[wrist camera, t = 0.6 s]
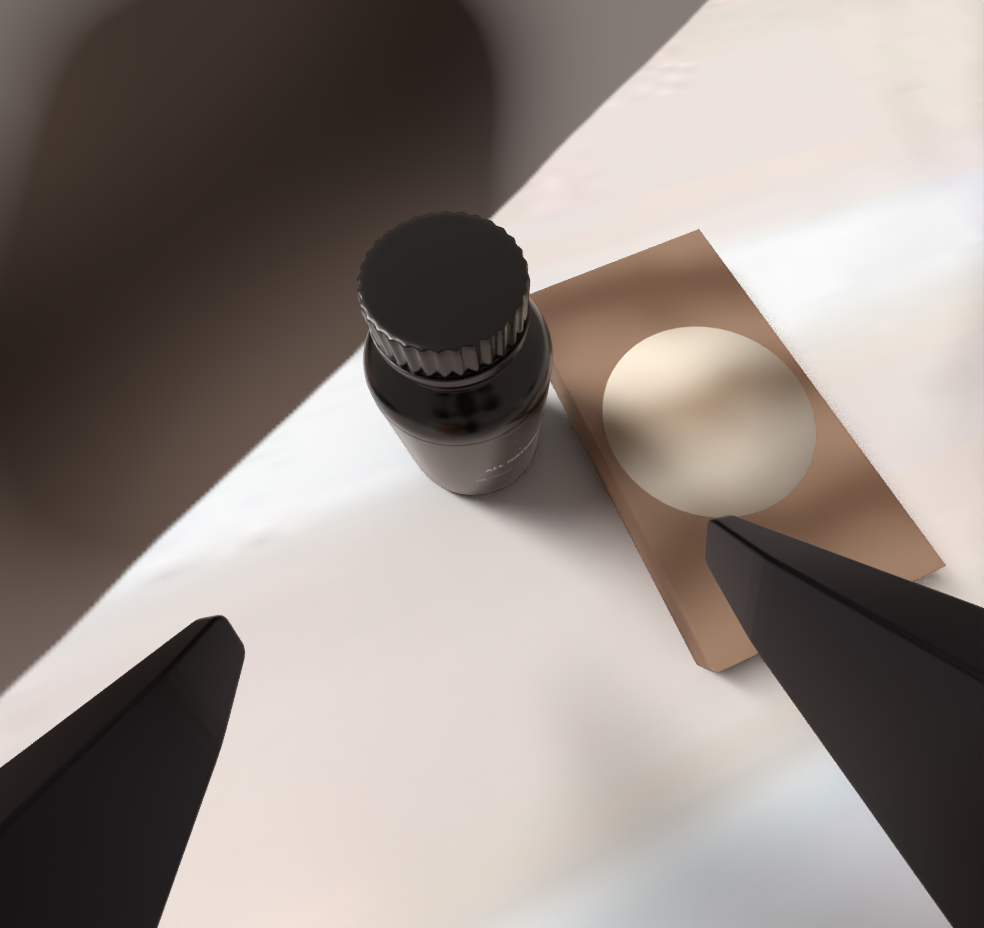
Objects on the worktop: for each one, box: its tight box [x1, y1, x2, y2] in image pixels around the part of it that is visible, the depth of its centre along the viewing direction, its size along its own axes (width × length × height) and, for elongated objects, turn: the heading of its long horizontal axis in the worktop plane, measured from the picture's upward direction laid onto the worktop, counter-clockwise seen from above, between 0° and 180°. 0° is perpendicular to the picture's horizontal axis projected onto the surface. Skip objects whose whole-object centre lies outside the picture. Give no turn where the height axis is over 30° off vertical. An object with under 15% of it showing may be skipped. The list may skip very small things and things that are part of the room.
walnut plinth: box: [529, 229, 946, 673], centre depth 21 cm, size 20×11×2 cm, turn 23°
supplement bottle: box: [357, 211, 553, 495], centre depth 17 cm, size 7×7×12 cm
